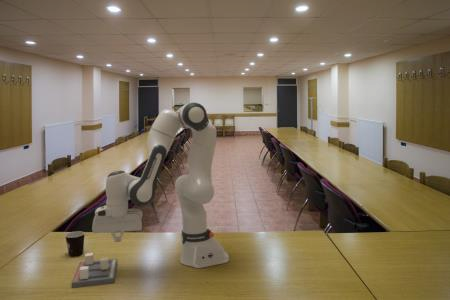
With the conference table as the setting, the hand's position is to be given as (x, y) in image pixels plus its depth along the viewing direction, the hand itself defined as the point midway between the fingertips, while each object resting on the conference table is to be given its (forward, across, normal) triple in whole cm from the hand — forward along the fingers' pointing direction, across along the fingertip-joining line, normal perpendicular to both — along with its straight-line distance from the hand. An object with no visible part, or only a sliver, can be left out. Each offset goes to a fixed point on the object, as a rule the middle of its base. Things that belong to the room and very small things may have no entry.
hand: (117, 241), depth 155 cm
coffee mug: (+14, +21, -24) cm, 35 cm away
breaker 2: (+12, +13, -7) cm, 19 cm away
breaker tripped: (+11, +6, 0) cm, 13 cm away
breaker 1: (+12, +13, +7) cm, 19 cm away
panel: (+14, +9, 0) cm, 17 cm away
